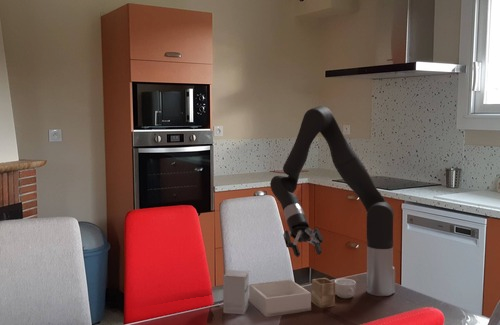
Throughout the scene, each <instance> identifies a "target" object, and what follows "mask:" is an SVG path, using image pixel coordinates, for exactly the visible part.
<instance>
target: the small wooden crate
mask: <svg viewBox="0 0 500 325" xmlns="http://www.w3.org/2000/svg"><path fill="white" fill-rule="evenodd" d="M311 303H313V304H314V305H316V306H317V307H318V308H320V309H323V308H329V307H335V306H336V293H335V283H334V281H333V280H331V279H329V278H327V277H322V278H321V277H320V278H313V279H311Z"/></svg>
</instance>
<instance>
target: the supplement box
mask: <svg viewBox="0 0 500 325" xmlns="http://www.w3.org/2000/svg"><path fill="white" fill-rule="evenodd" d="M249 272H250V271H248V270H235V269H233V270H232V269H229V270H227V271H226V272H225V274H224V275H223V277H222V280H223V282H222V284H223V286H222V291H223V292H222V294H223V298H222V299H223V300H222V302H223V305H222V306H223V311H222V312H223V314H229V315H230V314H231V315H232V314H233V315H245V314H246V312H247V309H248V308H249V307H250V306H249V304H250V302H249V284H250V280H249V274H250V273H249Z"/></svg>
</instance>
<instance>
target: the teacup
mask: <svg viewBox="0 0 500 325" xmlns="http://www.w3.org/2000/svg"><path fill="white" fill-rule="evenodd" d="M333 282H334V283H335V295H337V296H338V297H339V298H341V299H350V298H352V297H354V295H355V294H356V289H357V282H356V281H355V280H354V279H350V278H336V279H335V280H334V281H333Z"/></svg>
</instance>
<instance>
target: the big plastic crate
mask: <svg viewBox="0 0 500 325" xmlns="http://www.w3.org/2000/svg"><path fill="white" fill-rule="evenodd" d="M249 303H250V304H252V306H254V307H255V308H256V309H257V310H258V311H259V313H261V314H262V315H263V316H265V318H270V317H275V316H283V315H290V314H297V313H305V312H310V311H312V292H310V291H309V290H307V289H306V288H304V287H303V286H301V285H300V284H298V283H296V282H295V281H293V280H292V279H284V280H276V281H268V282H267V281H266V282H259V283H249Z"/></svg>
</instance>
